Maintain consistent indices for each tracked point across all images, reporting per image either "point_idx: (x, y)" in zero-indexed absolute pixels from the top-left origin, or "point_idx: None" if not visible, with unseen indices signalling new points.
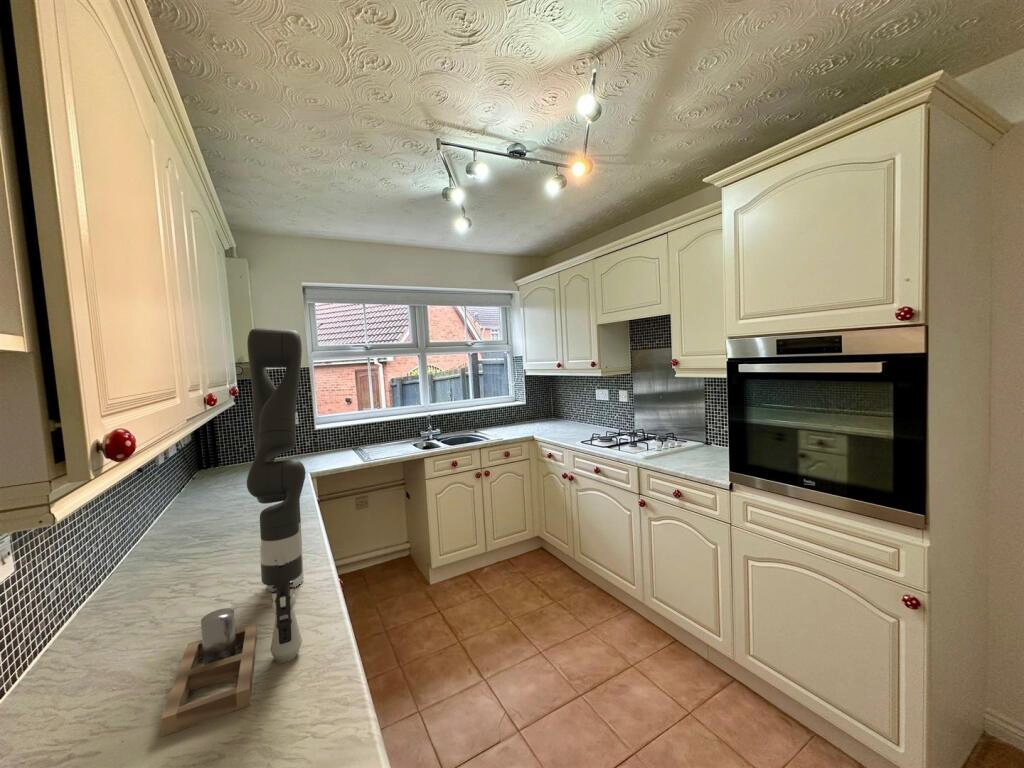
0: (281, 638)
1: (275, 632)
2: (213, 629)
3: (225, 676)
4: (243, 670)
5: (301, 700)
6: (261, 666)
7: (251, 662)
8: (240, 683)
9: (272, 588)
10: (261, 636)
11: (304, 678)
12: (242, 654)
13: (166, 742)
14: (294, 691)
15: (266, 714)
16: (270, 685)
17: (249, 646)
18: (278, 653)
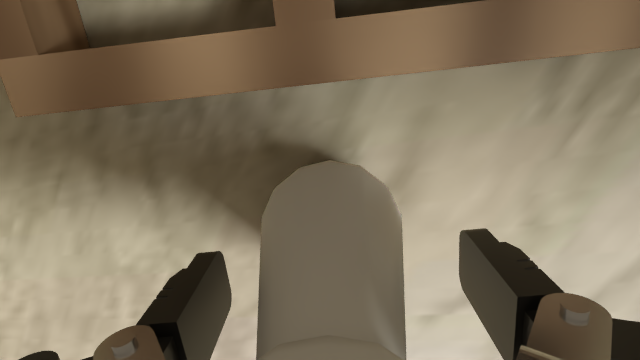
0: (165, 289)
1: (287, 236)
2: None
3: None
4: (167, 60)
5: (53, 270)
6: (306, 111)
7: (222, 90)
8: (60, 67)
9: None
10: (573, 72)
11: (163, 273)
12: (322, 23)
13: None
14: (104, 247)
15: (10, 171)
16: (163, 165)
17: (388, 50)
18: (268, 203)
